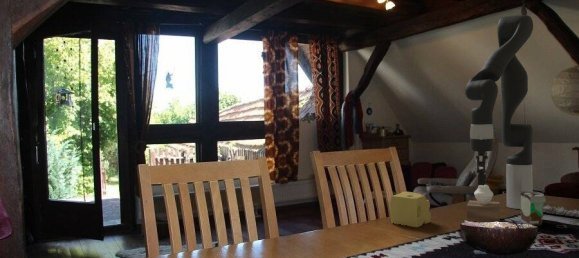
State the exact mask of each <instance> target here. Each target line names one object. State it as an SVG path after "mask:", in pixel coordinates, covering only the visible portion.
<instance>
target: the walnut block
mask: <svg viewBox="0 0 579 258" xmlns="http://www.w3.org/2000/svg"><path fill="white" fill-rule="evenodd" d="M500 217H501V216H500V201H490V203H489V204H488V205H482V204H479V203H478V201H477V200H468V202H467V204H466V222H467V221H479V222H494V221H499V222H500Z"/></svg>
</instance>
